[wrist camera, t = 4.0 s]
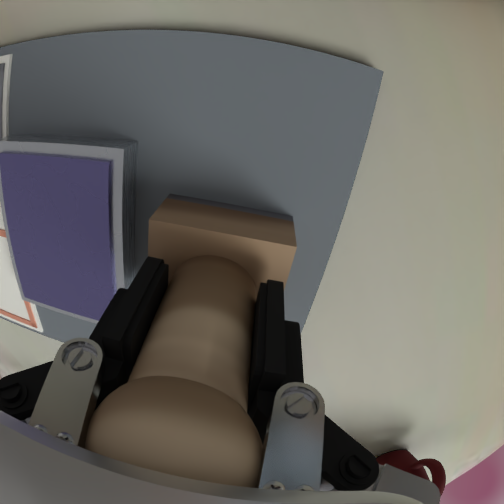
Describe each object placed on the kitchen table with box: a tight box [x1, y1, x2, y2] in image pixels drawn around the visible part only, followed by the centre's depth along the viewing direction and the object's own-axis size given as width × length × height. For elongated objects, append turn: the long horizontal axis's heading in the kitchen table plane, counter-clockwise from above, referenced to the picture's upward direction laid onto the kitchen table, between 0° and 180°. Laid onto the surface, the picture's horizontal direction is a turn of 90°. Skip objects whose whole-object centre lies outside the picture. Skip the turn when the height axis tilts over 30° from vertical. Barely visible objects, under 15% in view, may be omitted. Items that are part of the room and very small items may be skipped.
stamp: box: [84, 194, 297, 488], centre depth 9 cm, size 5×5×11 cm
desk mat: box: [0, 30, 383, 343], centre depth 14 cm, size 18×24×1 cm
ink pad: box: [0, 134, 139, 324], centre depth 13 cm, size 9×7×2 cm
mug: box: [376, 450, 446, 497], centre depth 21 cm, size 10×8×10 cm
